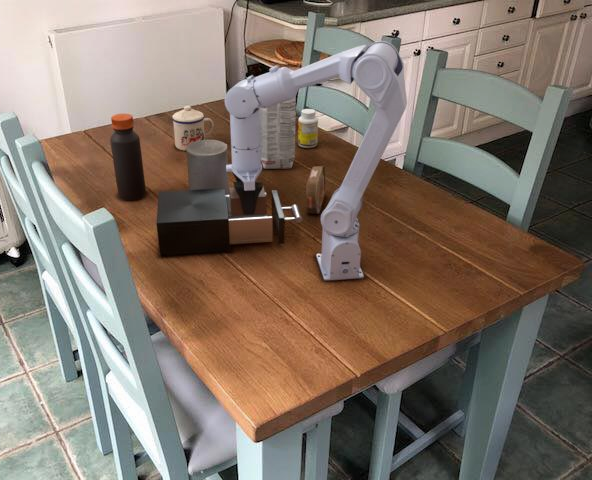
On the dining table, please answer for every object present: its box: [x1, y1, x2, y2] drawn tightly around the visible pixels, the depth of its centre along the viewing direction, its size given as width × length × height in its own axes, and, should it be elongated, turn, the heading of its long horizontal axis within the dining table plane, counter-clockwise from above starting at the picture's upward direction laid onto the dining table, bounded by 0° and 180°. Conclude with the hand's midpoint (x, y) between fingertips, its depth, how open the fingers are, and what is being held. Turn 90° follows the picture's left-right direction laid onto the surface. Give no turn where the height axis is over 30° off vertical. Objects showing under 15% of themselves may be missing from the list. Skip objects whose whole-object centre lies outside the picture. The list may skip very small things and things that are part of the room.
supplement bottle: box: [297, 108, 319, 149], centre depth 180 cm, size 6×6×10 cm
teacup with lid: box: [171, 105, 215, 152], centre depth 181 cm, size 12×9×12 cm
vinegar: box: [109, 113, 147, 201], centre depth 151 cm, size 7×7×20 cm
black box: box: [156, 188, 231, 258], centre depth 137 cm, size 15×15×8 cm
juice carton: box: [260, 95, 297, 170], centre depth 166 cm, size 9×8×24 cm
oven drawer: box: [226, 189, 303, 245], centre depth 138 cm, size 18×13×6 cm
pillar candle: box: [186, 139, 230, 195], centre depth 150 cm, size 10×10×15 cm
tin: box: [305, 165, 326, 215], centre depth 150 cm, size 15×3×8 cm, turn 168°
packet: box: [229, 186, 267, 216], centre depth 128 cm, size 5×7×4 cm
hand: (247, 207), depth 129 cm, fingers closed on packet, 5 cm apart
